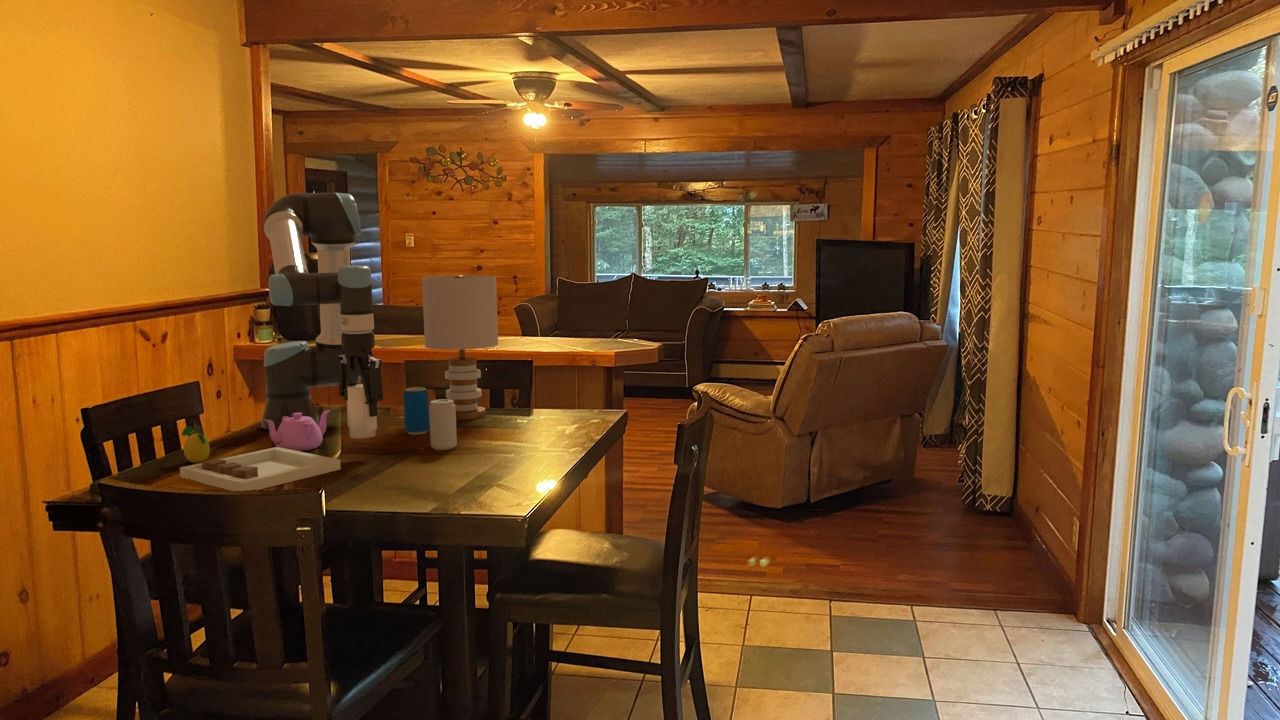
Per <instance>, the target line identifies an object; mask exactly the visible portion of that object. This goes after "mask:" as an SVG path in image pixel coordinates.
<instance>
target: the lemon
mask: <svg viewBox="0 0 1280 720" xmlns="http://www.w3.org/2000/svg"><path fill="white" fill-rule="evenodd" d="M193 425H194V426H190V425H187V426H185V427H184V428H183V429H182V432H181V436H183V437H184V436H185V437H186V436H188V437H187V438H186V439H185V441H184V444H183V454H184V457H185V459H186V460H188V462H191V463H193V464H199V463H201V462H204V461H207V459H208V458H209V456H210V453H211V452H210V451H211V449H210V445H209V444H210V443H209V442H208V439H207V438H206V437H205V436H204V435H203V434H202V433H201V432H199V431H197V430H196V428H197V427H196V423H194V424H193Z"/></svg>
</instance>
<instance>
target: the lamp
mask: <svg viewBox="0 0 1280 720" xmlns="http://www.w3.org/2000/svg"><path fill="white" fill-rule="evenodd" d="M421 282H422V283H421V287H422V288H421V289H422V307H423V308H422V309H423V327H424V329H423V331H424V332H423V333H424V348H425V349H426V348H427V349H430V350H440V351H441V350H443V351H444V350H448V351H450V350H451V351H453V350H454V351H455V350H456V351H457V350H458V353H459V354H458V355H459V356H457V357H456V356H455V357H450V358H448V370H445V371H444V378H445V379H446V380H448V381H449V382H448V383H449V389H446V390H445V399H451V400H453V401H454V402H453V403H454V404H455V412H456V421H457V420H458V421H459V420H475V419H480V418H483V417H485V416H486V407H484V406H478V403H479V399H478V398H481V397H482V388H479V387H478V379H481V378H482V376H481V375H482V372H481V371H482V370H481V369H478V368H477V357H474V356H466V350H477V349H486V348H492V347H495V346H496V347H497V346H498V345H499V330H498V329H499V328H498V325H499V324H498V305H497V304H498V302H497V301H498V299H497V276H496V275H489V274H488V275H486V274H485V275H484V274H482V275H481V274H472V275H471V274H468V275H467V274H464V275H461V274H459V275H457V274H456V275H455V274H454V275H438V276H437V275H434V276H425V277H424V276H423V277H421Z"/></svg>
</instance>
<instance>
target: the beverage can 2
mask: <svg viewBox="0 0 1280 720" xmlns="http://www.w3.org/2000/svg"><path fill="white" fill-rule="evenodd" d="M453 402H454V401H453V400H451V399H448V398H441V399H433V400H430V404H429V424H430V430H429V435H430V440H429V441H430V447H431V448H432V449H433V450H436V451H449V450H452V449H454V448H455V447H456V446H457V445H458V443H457V442H458V438H457V420H456V412H455V404H454V403H453Z"/></svg>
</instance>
